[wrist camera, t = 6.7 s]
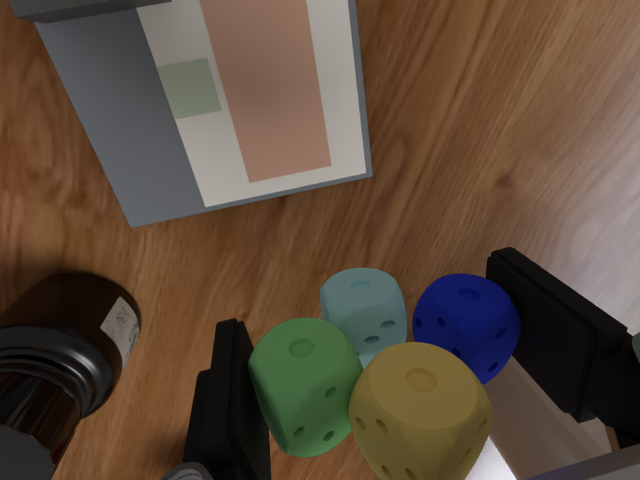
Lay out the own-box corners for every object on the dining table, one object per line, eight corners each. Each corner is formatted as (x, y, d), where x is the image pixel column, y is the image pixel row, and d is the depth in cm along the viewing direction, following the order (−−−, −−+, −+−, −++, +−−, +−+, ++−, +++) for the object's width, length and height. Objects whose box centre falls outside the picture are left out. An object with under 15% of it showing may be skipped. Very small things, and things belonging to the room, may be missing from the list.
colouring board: (329, -206, 17) (345, -268, 14) (368, 172, 26) (383, 186, 23) (-39, -156, 16) (-111, -211, 13) (135, 222, 25) (118, 243, 22)
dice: (468, 248, 12) (654, 405, 7) (460, 306, 13) (609, 481, 8) (243, 285, 11) (232, 504, 6) (256, 343, 12) (258, 572, 7)
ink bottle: (117, 372, 31) (42, 528, 20) (6, 339, 28) (-153, 504, 17) (163, 294, 28) (104, 428, 18) (45, 247, 25) (-113, 375, 14)
